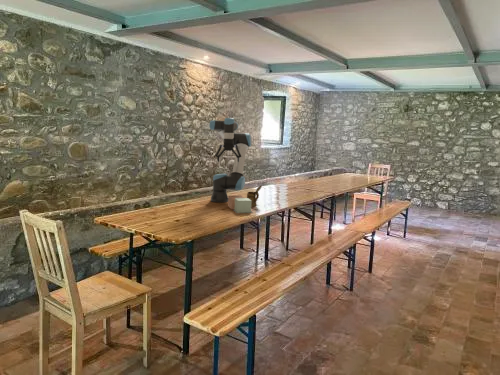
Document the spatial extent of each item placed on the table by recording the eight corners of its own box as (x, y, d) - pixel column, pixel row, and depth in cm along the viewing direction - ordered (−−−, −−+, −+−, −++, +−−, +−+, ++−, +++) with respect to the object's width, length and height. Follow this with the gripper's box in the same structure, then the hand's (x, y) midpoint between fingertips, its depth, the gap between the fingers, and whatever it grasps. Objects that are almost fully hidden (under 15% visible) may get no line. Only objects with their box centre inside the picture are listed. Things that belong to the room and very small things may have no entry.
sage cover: (234, 209, 287) (234, 198, 285) (247, 209, 290) (247, 198, 288) (237, 212, 277) (238, 200, 276) (251, 212, 280) (251, 200, 279)
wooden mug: (257, 208, 298) (258, 185, 296) (243, 205, 305) (244, 183, 302) (263, 206, 306) (264, 184, 303) (248, 204, 313) (249, 182, 310)
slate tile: (232, 209, 288) (232, 209, 288) (248, 209, 291) (248, 209, 291) (236, 213, 276) (236, 213, 275) (253, 213, 279) (253, 212, 279)
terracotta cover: (228, 206, 299) (228, 195, 297) (240, 206, 302) (240, 195, 300) (231, 209, 289) (231, 198, 288) (243, 209, 292) (244, 197, 290)
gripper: (213, 138, 280) (212, 166, 283) (245, 139, 287) (244, 166, 290) (211, 137, 287) (211, 165, 290) (243, 138, 294) (242, 165, 297)
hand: (227, 166), depth 290 cm, fingers open, 13 cm apart
